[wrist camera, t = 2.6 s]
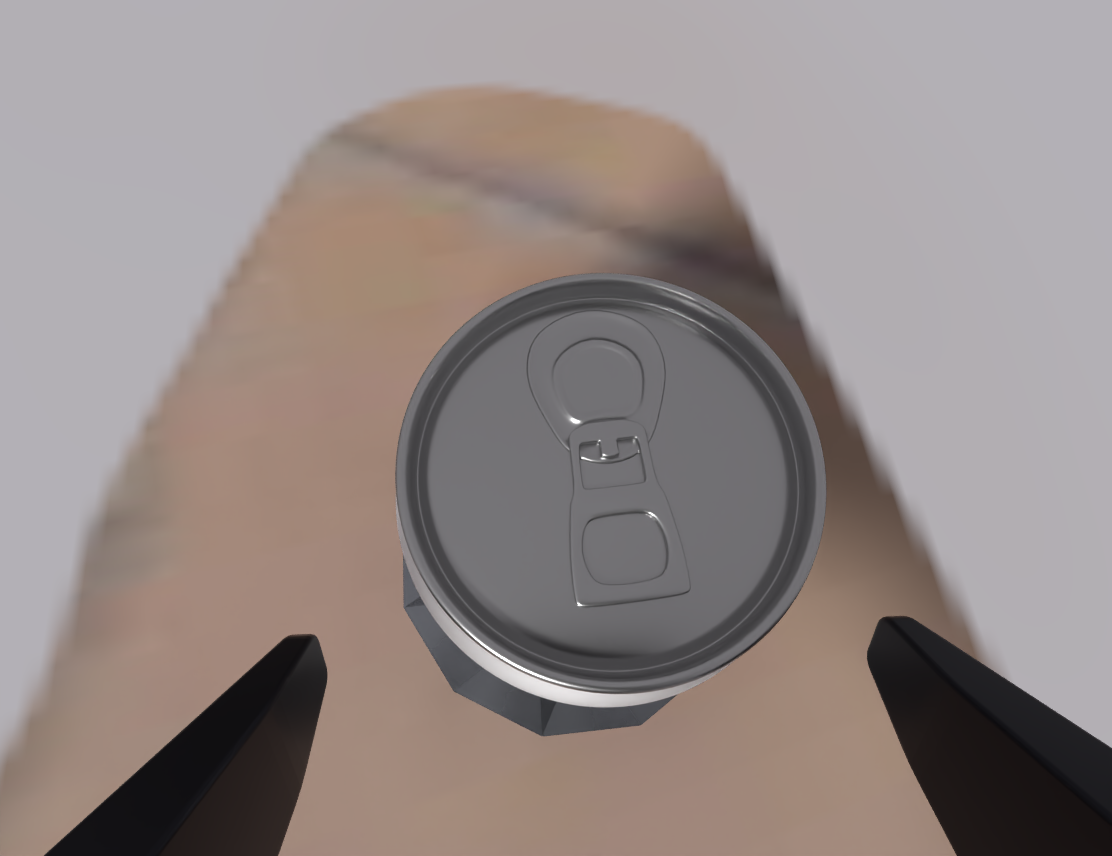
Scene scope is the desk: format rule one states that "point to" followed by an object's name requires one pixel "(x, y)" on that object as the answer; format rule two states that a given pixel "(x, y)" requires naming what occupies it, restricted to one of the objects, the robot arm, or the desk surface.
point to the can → (608, 489)
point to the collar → (507, 698)
